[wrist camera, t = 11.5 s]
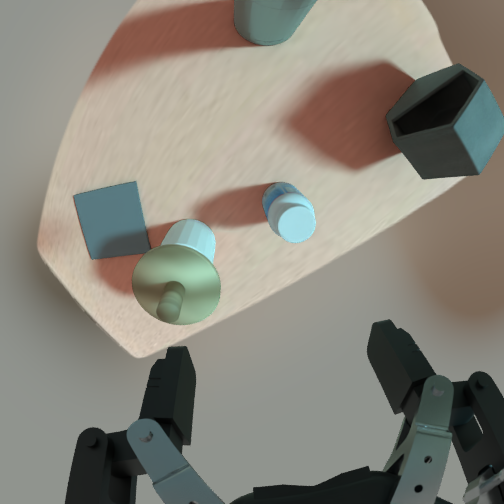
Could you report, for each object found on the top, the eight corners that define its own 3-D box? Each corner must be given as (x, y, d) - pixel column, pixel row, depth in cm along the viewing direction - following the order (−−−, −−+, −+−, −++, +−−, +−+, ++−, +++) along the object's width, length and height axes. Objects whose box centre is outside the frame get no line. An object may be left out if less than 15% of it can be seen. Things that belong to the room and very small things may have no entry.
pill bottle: (268, 224, 44) (279, 255, 34) (256, 188, 41) (264, 210, 31) (305, 212, 43) (326, 239, 33) (294, 176, 41) (314, 193, 31)
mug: (154, 272, 46) (138, 305, 37) (176, 210, 42) (161, 234, 33) (196, 289, 48) (189, 324, 39) (223, 230, 44) (220, 258, 35)
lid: (124, 249, 34) (106, 273, 28) (213, 239, 34) (209, 262, 28) (148, 321, 39) (138, 350, 33) (226, 316, 39) (226, 346, 33)
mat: (75, 194, 39) (73, 195, 39) (136, 181, 39) (134, 181, 39) (92, 258, 44) (91, 259, 44) (151, 251, 45) (150, 252, 44)
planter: (448, 56, 27) (503, 93, 15) (471, 91, 30) (525, 146, 18) (381, 104, 40) (397, 162, 28) (407, 135, 42) (429, 204, 30)
